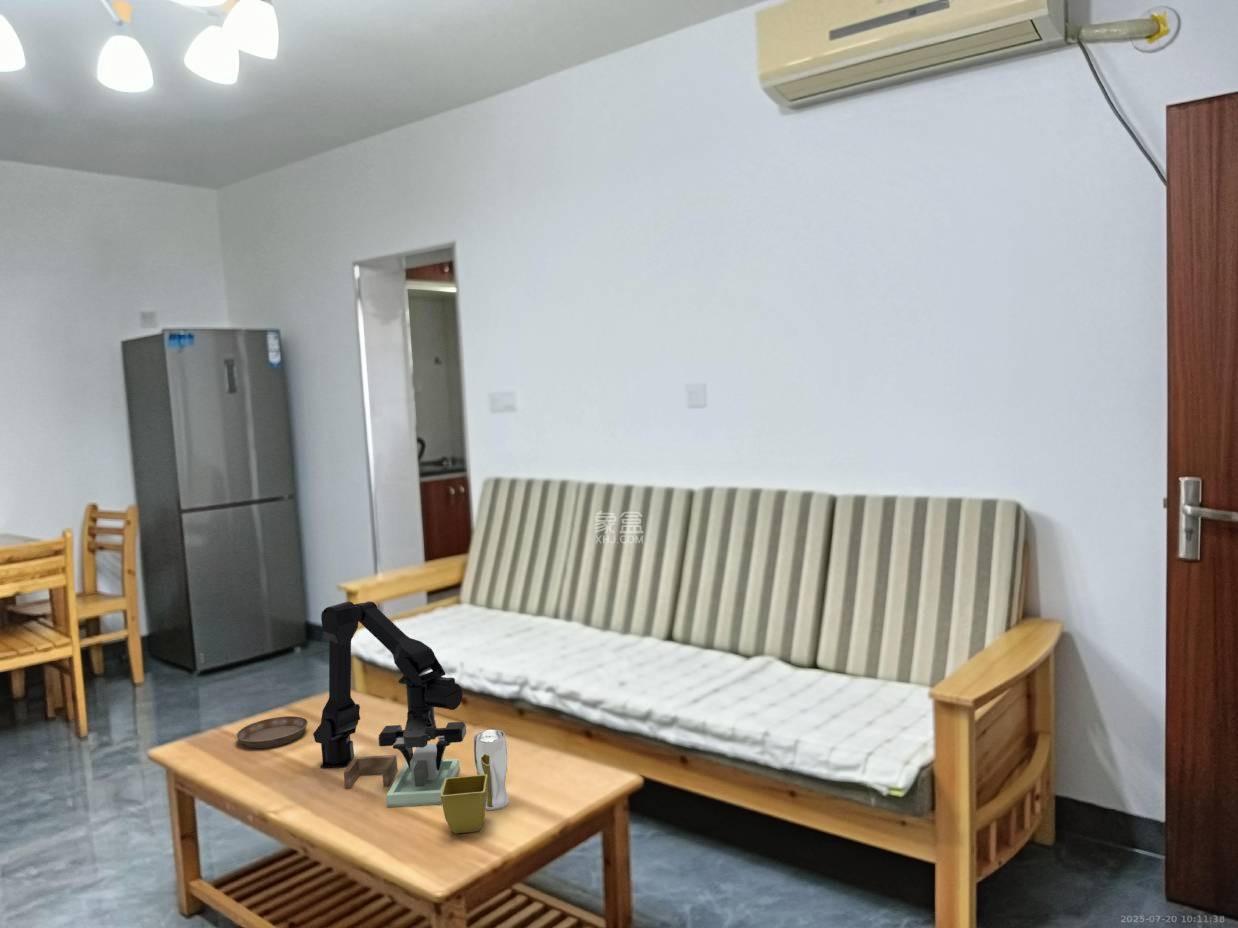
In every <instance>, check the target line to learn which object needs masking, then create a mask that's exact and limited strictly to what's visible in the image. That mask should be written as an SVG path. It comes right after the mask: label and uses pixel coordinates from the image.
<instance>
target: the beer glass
mask: <svg viewBox="0 0 1238 928" xmlns="http://www.w3.org/2000/svg"><path fill="white" fill-rule="evenodd" d="M507 746H508V745H507V740H506V733H505V731H503V730H501V729H500V730H499V729H488V730H487V729H486V730H482V731H479V732H476V734H474V736H473V757H474V766H475V770H476V775H484V774H487V776H488V778H487V802H486V808H485V811H486V810H488V811H495V810H500V809H502V808H505V807H506V806H508V804H509V796H508V793H507V785H506V783H507V782H506V781H507V772H508V771H507V769H508V748H507Z"/></svg>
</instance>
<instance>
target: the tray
mask: <svg viewBox="0 0 1238 928" xmlns="http://www.w3.org/2000/svg"><path fill="white" fill-rule="evenodd" d="M460 769H461V768H460V759H459V758H446V759H444V758H443V763H442V765H441V768H440V771H439V774H438V776H437V779H434V780H427V781H426V784H425V786H419V787H415V781H412V777H411V770H410V768H409V766H408V764H407V761H406V760H405V762H404V764H403V765H402V768H401V769H400V771H399V773H397V774H398V775H397V776H396V778H395V780H394V782H393V784H392V785H391V786H390V788H389V790H388V792H387V794H386V806H387V808H394V807H411V806H413V807H417V806H432V805H442V801H441V792H442V788H443V784H444V780H445V779H446V778H452V777H458V774H459V771H460Z"/></svg>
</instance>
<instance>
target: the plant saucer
mask: <svg viewBox="0 0 1238 928" xmlns="http://www.w3.org/2000/svg"><path fill="white" fill-rule="evenodd" d="M308 722H309V721H308V720H307V718H305V717H301V716H296V715H295V716H293V715H291V716H290V715H287V716H286V715H285V716H278V717H277V716H276V717H272V718H266V719H263V720H259V721H255V722H253V723H250V724H248V725H245V726H244V727H243V728H241V729H239V730H238V732H236V738H237V739H238V741H239V742H241V744H243V745H245V746H246V747H248V748H252V749H269V748H275V747H280V746H283V745H285V744H288V743H291V742H294V741H295V740H297V739H298V738H300V737H301V735H303V733H304V732H305V730H306V728H307V726H308V724H309V723H308Z"/></svg>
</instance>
